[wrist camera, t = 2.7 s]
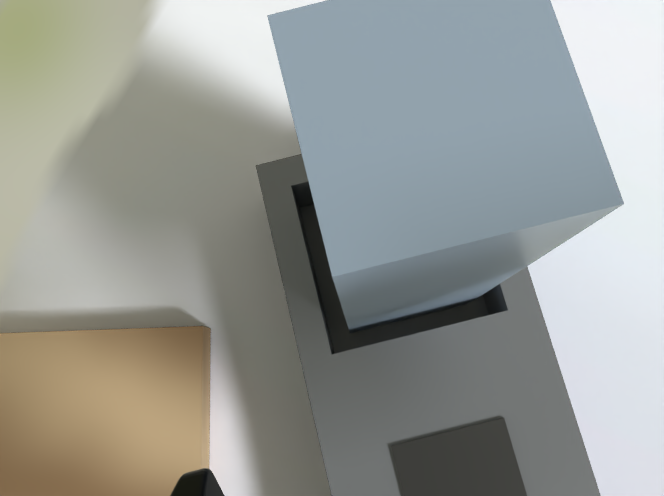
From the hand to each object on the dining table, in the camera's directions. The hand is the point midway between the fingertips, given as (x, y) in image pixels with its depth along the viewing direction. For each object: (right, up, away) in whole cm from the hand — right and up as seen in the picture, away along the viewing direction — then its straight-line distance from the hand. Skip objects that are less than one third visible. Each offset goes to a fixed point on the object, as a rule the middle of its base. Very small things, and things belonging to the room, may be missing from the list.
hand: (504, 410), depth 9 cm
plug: (-1, +2, +11) cm, 11 cm away
